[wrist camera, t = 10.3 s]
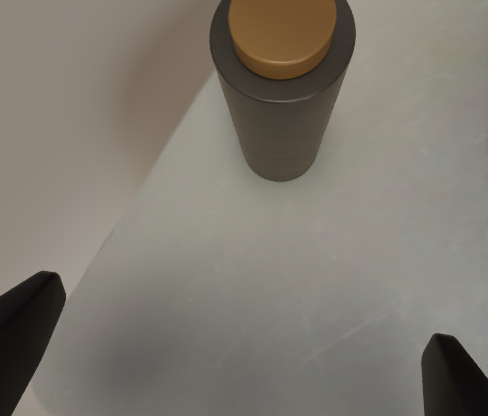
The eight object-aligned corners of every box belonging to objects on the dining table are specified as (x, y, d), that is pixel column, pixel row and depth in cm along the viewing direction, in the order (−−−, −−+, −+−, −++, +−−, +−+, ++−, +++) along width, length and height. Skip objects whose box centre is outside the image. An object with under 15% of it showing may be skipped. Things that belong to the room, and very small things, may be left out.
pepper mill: (297, 194, 24) (320, 115, 11) (230, 162, 24) (175, 51, 11) (330, 127, 24) (389, -27, 11) (263, 98, 24) (245, -81, 12)
